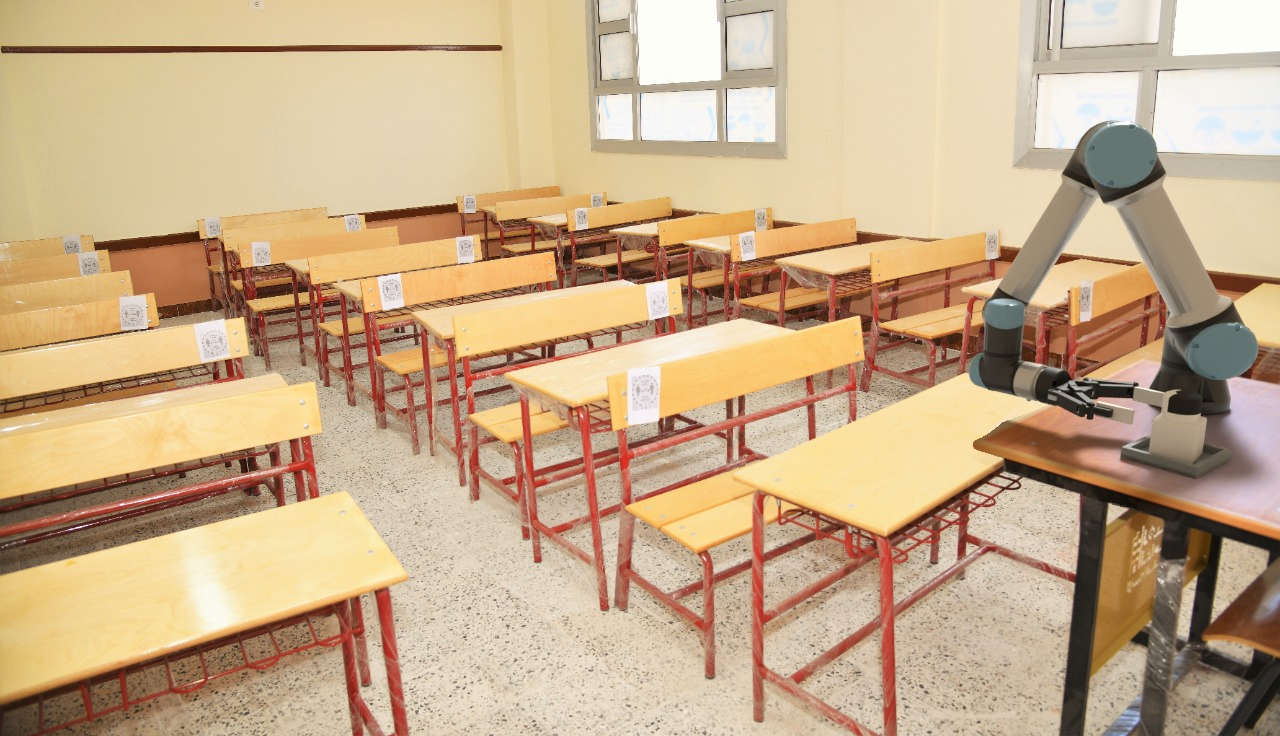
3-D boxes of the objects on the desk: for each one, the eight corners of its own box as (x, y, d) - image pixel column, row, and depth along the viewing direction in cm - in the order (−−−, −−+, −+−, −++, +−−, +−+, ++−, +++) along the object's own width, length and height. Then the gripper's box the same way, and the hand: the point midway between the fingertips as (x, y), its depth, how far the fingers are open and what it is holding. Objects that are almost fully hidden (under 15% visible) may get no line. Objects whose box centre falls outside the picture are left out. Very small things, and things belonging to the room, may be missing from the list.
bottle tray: (1156, 440, 170) (1157, 430, 169) (1230, 460, 160) (1232, 449, 159) (1120, 457, 163) (1121, 446, 162) (1195, 478, 153) (1197, 467, 152)
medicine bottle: (1202, 454, 161) (1211, 391, 158) (1192, 465, 156) (1201, 401, 153) (1158, 445, 166) (1166, 384, 163) (1147, 456, 161) (1155, 393, 158)
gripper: (1075, 389, 187) (1181, 413, 171) (1005, 415, 174) (1113, 444, 157) (1078, 355, 185) (1186, 376, 168) (1008, 378, 172) (1118, 404, 155)
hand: (1151, 409), depth 163 cm, fingers open, 13 cm apart
